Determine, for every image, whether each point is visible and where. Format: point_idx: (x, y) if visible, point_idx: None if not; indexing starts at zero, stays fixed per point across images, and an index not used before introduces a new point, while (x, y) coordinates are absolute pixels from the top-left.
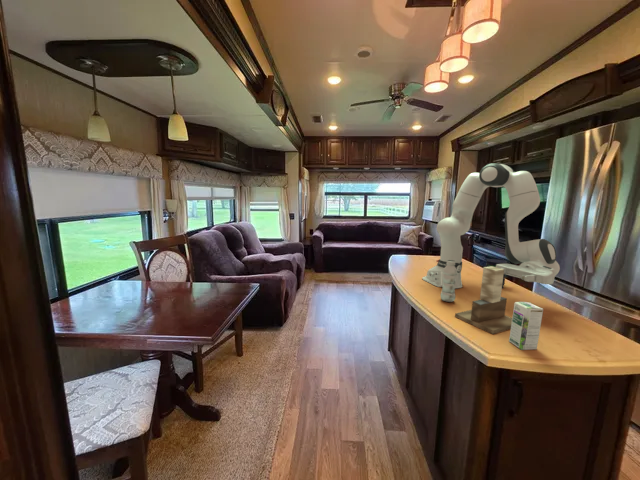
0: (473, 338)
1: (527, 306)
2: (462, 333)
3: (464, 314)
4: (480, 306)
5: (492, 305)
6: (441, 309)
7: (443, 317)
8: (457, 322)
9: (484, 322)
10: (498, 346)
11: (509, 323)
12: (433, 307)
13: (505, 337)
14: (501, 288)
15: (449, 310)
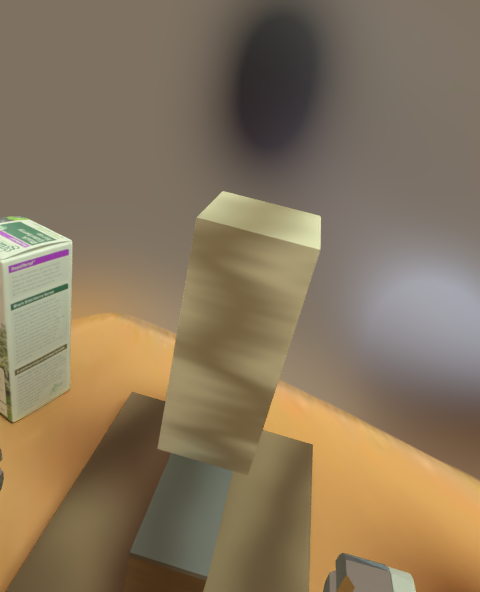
0: (172, 351)
1: (21, 223)
2: None
3: (284, 462)
4: None
5: None
6: (399, 494)
7: (324, 422)
8: None
9: None
10: (98, 348)
11: (75, 515)
12: (432, 489)
13: (83, 411)
14: (171, 369)
15: (377, 513)
